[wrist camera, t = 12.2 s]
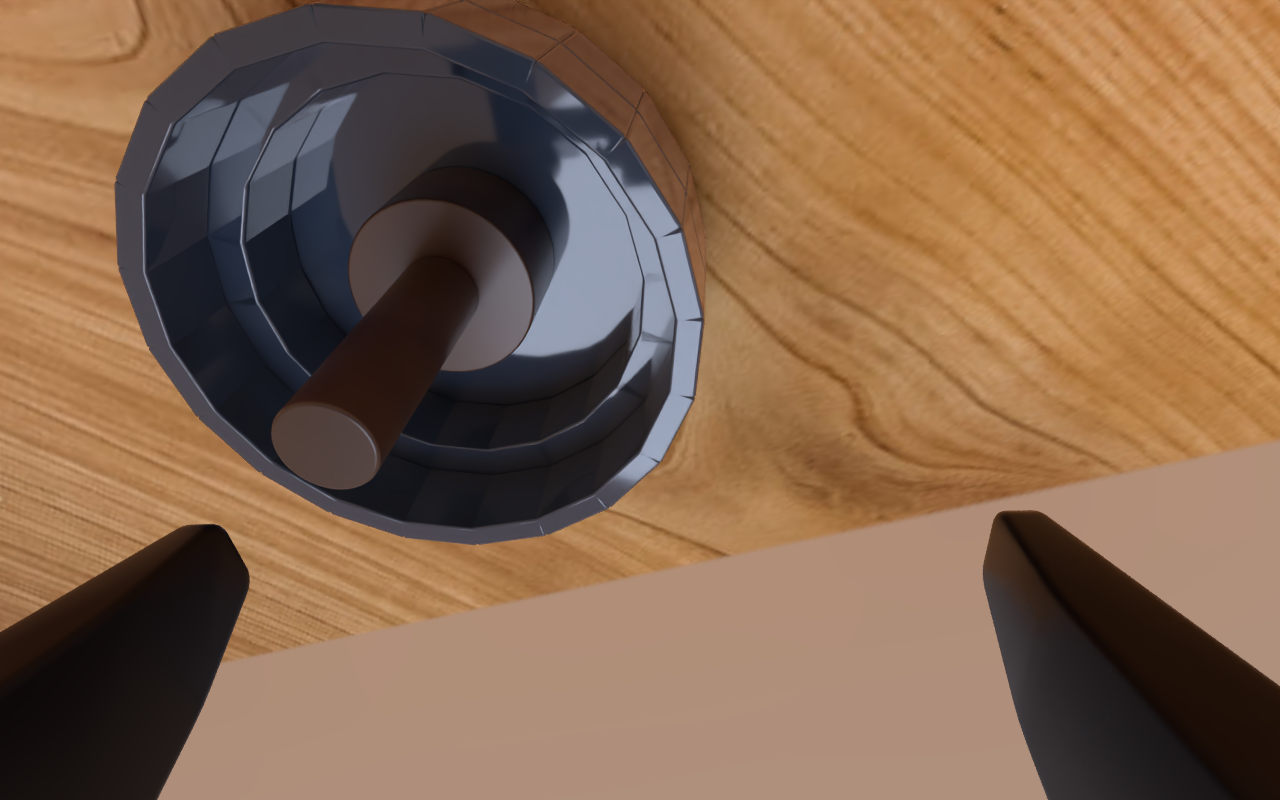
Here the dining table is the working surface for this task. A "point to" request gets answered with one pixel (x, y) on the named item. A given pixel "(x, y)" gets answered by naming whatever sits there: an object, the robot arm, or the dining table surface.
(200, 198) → the bowl
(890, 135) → the dining table surface
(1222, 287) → the dining table surface
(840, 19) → the dining table surface
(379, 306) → the peg on round base
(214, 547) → the robot arm
